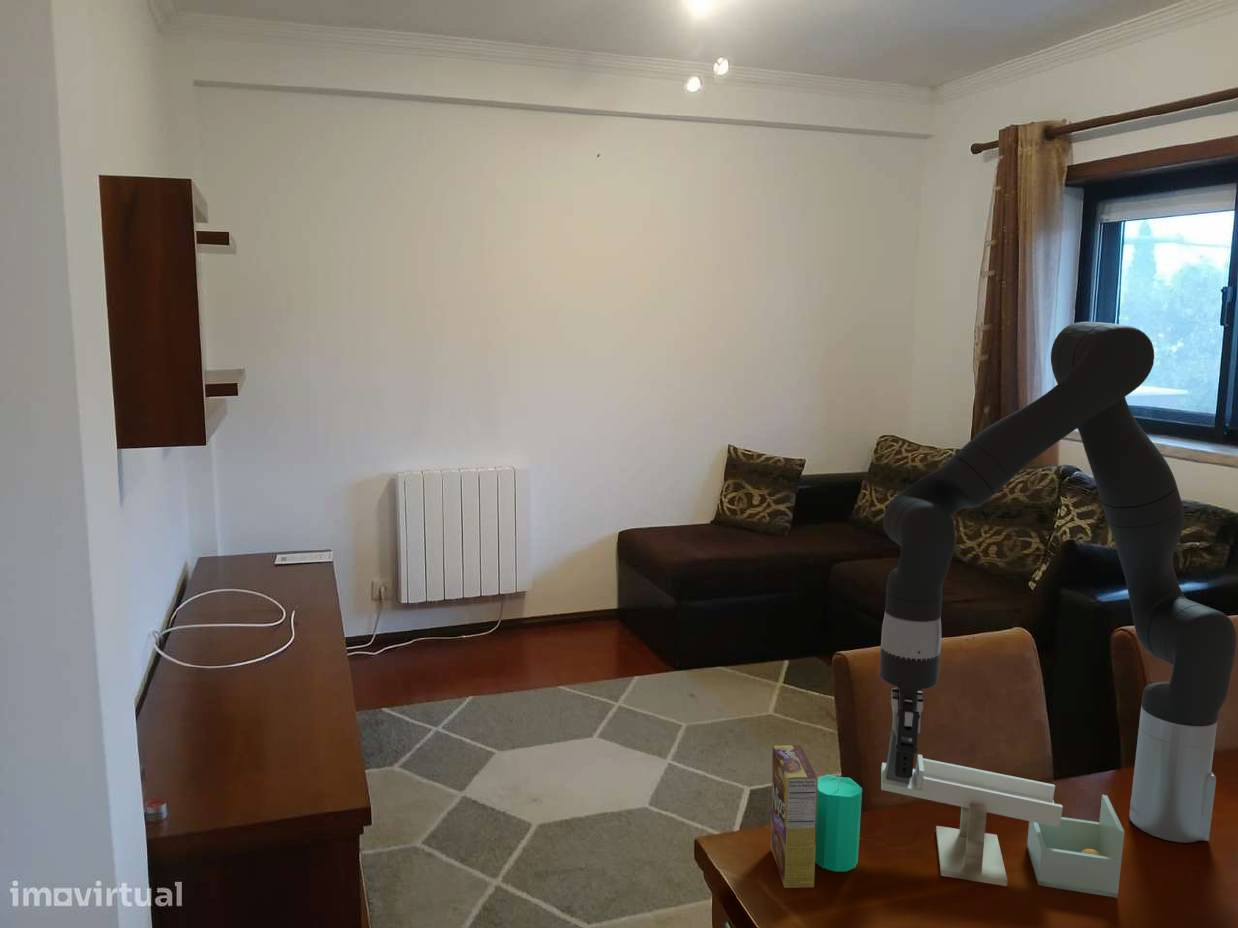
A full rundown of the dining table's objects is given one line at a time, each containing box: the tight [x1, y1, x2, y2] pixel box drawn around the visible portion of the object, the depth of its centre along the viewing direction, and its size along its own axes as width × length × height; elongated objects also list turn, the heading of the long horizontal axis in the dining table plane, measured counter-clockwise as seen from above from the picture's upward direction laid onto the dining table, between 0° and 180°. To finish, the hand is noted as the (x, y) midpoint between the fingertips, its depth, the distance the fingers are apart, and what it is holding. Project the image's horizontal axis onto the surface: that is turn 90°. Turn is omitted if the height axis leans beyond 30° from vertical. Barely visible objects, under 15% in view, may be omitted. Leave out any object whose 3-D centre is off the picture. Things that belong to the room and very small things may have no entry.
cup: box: [1026, 794, 1125, 899], centre depth 121 cm, size 9×9×9 cm
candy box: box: [770, 744, 819, 889], centre depth 120 cm, size 9×4×15 cm, turn 2°
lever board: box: [880, 726, 1064, 827], centre depth 123 cm, size 22×7×8 cm, turn 75°
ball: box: [1081, 849, 1102, 856], centre depth 120 cm, size 3×3×3 cm
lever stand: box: [935, 803, 1008, 887], centre depth 124 cm, size 8×11×10 cm
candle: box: [815, 774, 863, 873], centre depth 123 cm, size 6×6×12 cm
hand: (902, 764), depth 125 cm, fingers open, 6 cm apart
